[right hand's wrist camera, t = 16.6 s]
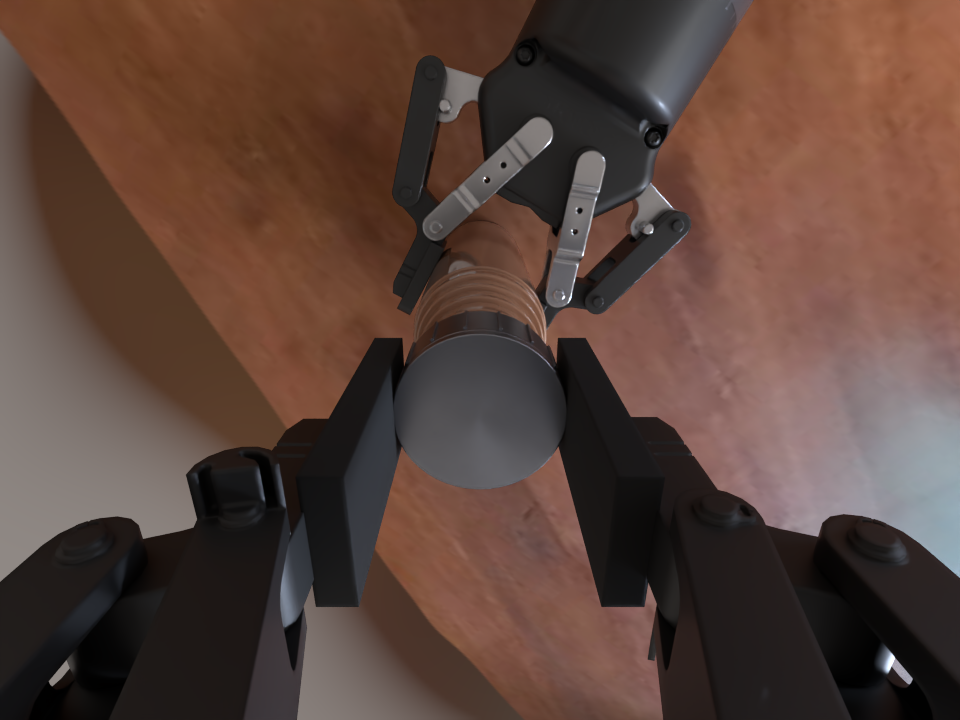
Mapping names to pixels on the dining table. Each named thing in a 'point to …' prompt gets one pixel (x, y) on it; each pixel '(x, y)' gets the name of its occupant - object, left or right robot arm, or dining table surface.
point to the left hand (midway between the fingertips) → (455, 332)
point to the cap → (480, 401)
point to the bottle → (480, 280)
